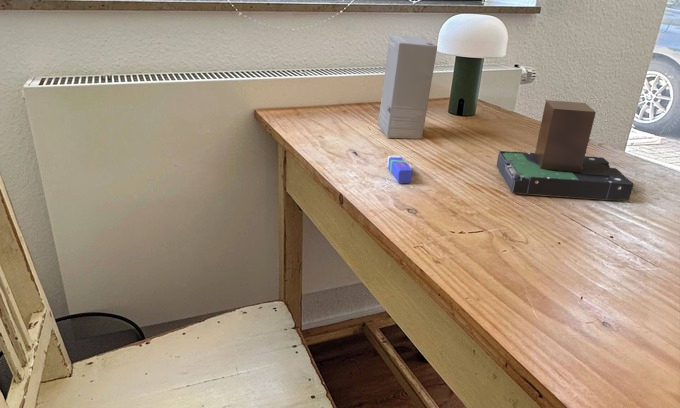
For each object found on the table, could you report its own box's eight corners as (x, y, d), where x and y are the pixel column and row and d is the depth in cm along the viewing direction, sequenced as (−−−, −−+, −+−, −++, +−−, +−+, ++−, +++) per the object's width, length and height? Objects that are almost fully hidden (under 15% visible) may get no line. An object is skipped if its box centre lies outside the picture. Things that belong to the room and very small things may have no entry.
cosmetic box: (377, 125, 93) (383, 34, 86) (415, 125, 93) (425, 35, 87) (386, 139, 85) (394, 40, 78) (427, 139, 86) (439, 41, 79)
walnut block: (571, 160, 70) (585, 102, 67) (580, 172, 66) (596, 111, 63) (534, 156, 71) (545, 99, 68) (540, 169, 67) (553, 108, 63)
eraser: (400, 168, 73) (401, 154, 72) (411, 184, 67) (413, 169, 66) (386, 168, 72) (387, 154, 71) (397, 184, 67) (398, 169, 66)
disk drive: (597, 174, 74) (494, 167, 74) (602, 156, 73) (497, 149, 73) (629, 204, 64) (511, 195, 65) (636, 183, 63) (515, 174, 64)
